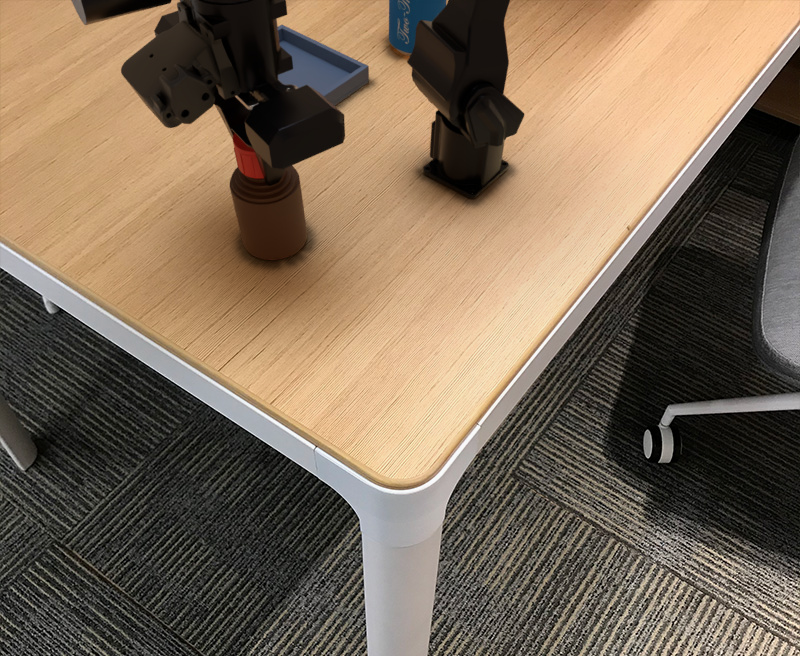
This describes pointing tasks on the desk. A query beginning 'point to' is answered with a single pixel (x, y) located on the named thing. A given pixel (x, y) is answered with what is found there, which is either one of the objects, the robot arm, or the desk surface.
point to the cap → (246, 159)
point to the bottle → (270, 214)
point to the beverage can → (409, 20)
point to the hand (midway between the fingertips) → (260, 170)
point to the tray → (321, 67)
